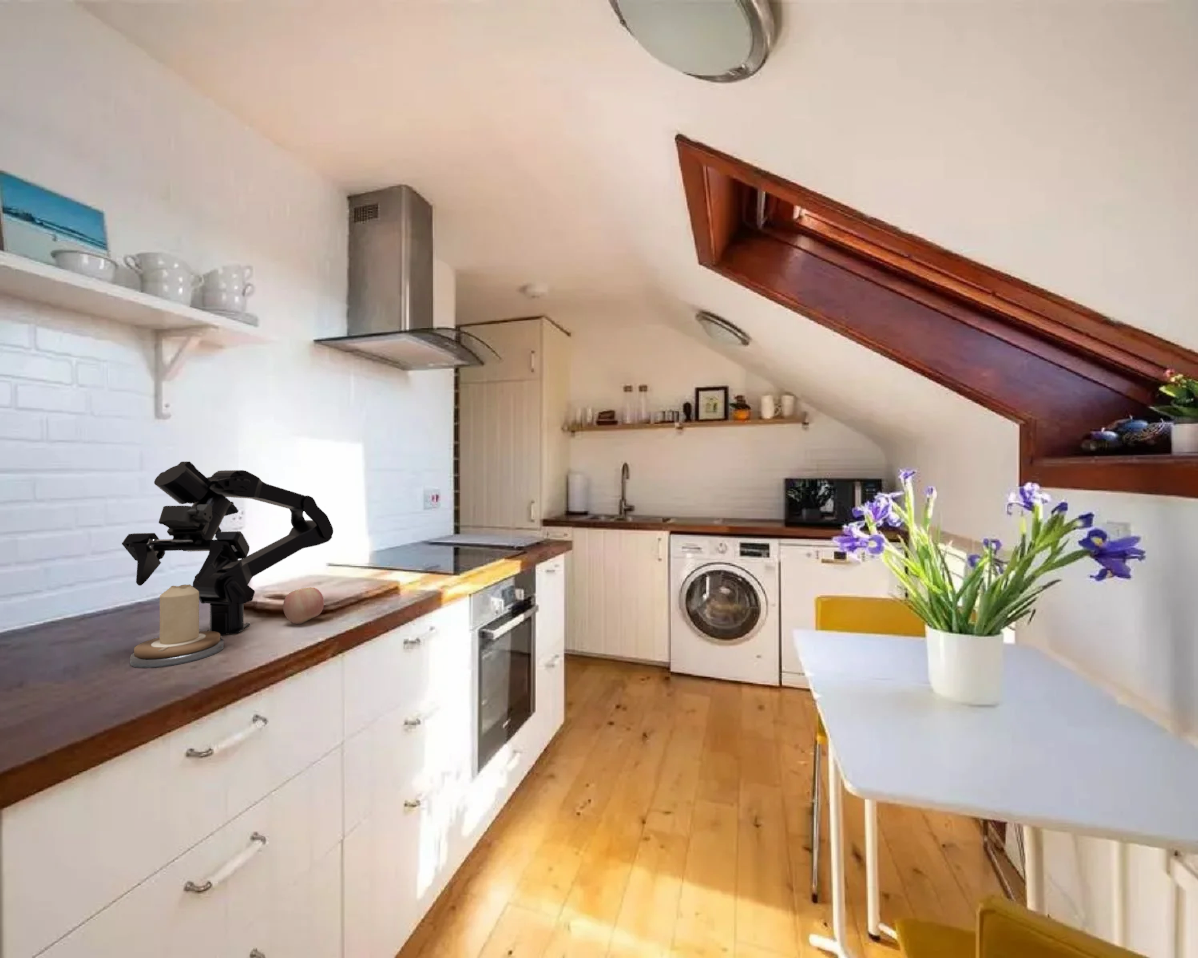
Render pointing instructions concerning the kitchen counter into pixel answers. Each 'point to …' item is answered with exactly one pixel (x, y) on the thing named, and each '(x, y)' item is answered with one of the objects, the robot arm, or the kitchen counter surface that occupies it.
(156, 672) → the kitchen counter surface
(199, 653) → the turntable base
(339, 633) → the kitchen counter surface
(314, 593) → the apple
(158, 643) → the turntable
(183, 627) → the candle
